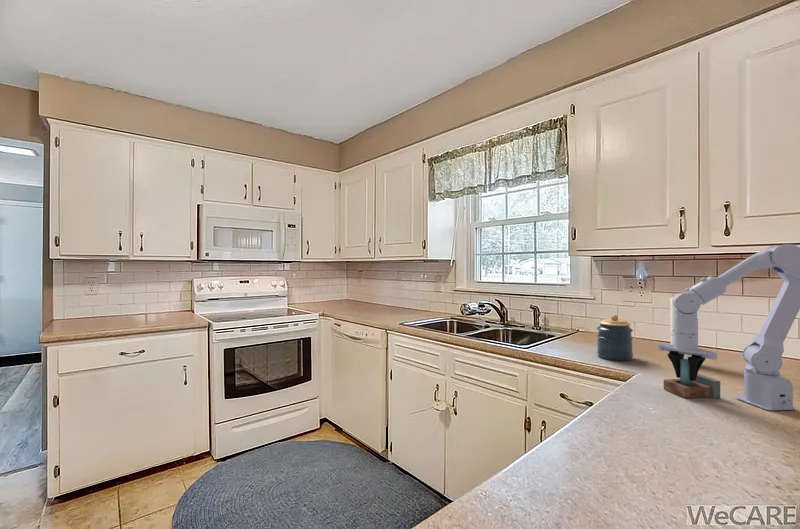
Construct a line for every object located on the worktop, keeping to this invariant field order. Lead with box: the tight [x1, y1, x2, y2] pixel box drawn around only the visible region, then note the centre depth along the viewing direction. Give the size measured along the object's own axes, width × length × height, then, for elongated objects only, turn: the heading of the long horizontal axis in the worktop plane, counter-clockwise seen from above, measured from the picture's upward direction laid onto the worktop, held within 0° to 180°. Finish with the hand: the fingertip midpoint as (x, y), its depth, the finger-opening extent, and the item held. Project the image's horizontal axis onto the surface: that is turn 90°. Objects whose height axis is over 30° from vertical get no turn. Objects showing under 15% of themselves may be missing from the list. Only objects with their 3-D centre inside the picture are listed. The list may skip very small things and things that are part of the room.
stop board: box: [694, 373, 721, 399], centre depth 116 cm, size 10×2×5 cm, turn 4°
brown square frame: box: [663, 378, 711, 399], centre depth 116 cm, size 8×8×3 cm
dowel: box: [679, 359, 693, 386], centre depth 116 cm, size 3×3×8 cm
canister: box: [596, 314, 634, 362], centre depth 160 cm, size 13×13×18 cm
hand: (686, 378), depth 116 cm, fingers closed on dowel, 3 cm apart
